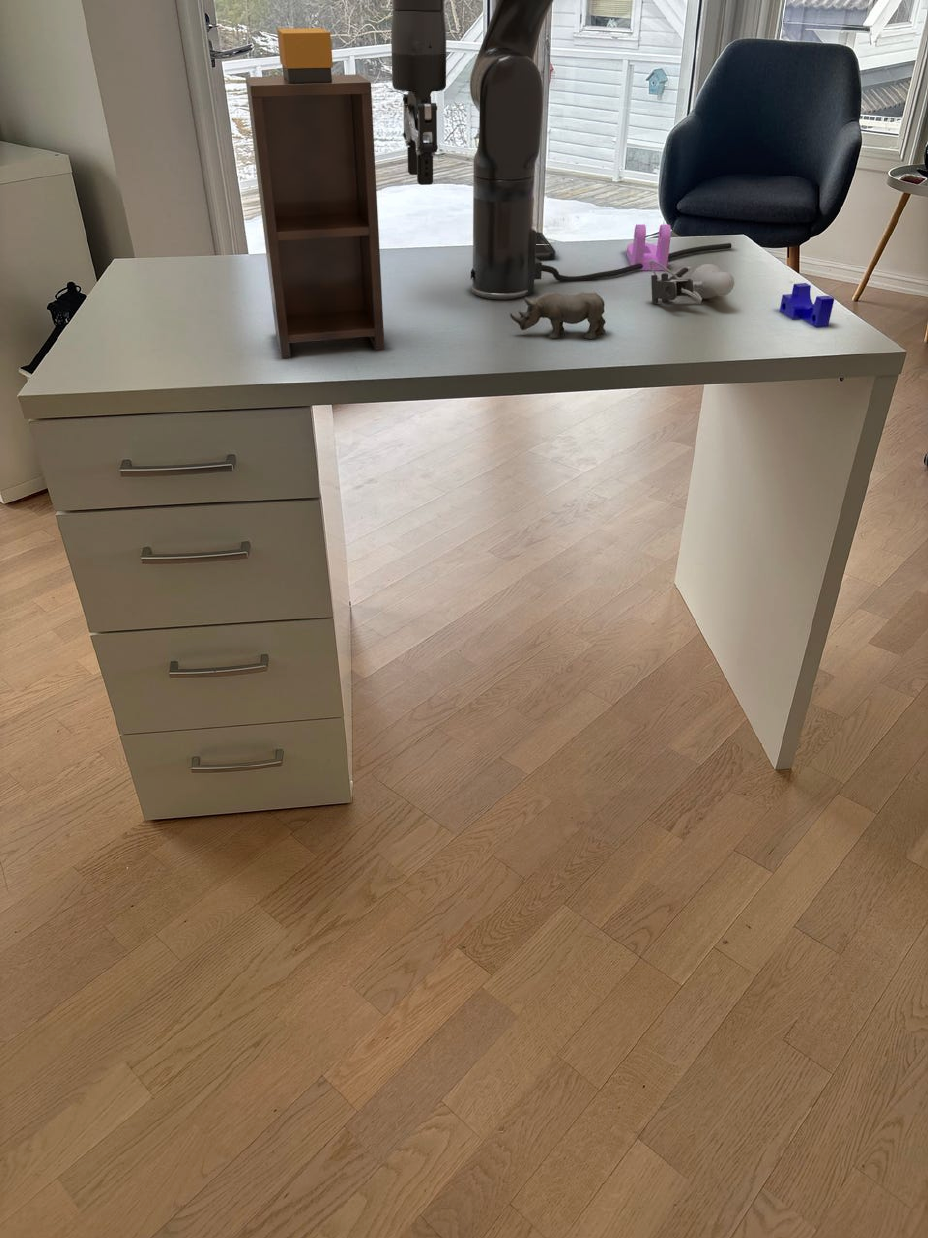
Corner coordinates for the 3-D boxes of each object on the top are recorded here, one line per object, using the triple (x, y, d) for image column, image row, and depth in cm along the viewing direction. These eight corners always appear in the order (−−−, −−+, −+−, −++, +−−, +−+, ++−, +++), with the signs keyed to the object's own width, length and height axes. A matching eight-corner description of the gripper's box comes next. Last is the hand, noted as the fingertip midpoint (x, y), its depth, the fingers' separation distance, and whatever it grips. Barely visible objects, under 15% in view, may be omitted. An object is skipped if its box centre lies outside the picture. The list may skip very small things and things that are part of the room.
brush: (316, 67, 122) (312, 22, 119) (334, 82, 109) (330, 31, 106) (274, 68, 121) (270, 23, 118) (287, 83, 108) (282, 32, 105)
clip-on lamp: (634, 301, 155) (666, 310, 138) (632, 261, 152) (664, 265, 136) (703, 292, 155) (743, 299, 139) (702, 251, 153) (743, 254, 136)
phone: (512, 253, 164) (501, 232, 176) (512, 260, 164) (500, 239, 177) (557, 252, 164) (542, 231, 177) (556, 259, 165) (541, 237, 177)
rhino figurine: (508, 329, 134) (509, 287, 131) (603, 330, 134) (607, 287, 131) (509, 339, 131) (510, 296, 128) (607, 339, 131) (611, 296, 127)
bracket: (666, 270, 160) (671, 227, 156) (633, 270, 160) (638, 227, 156) (655, 250, 170) (659, 209, 166) (624, 250, 170) (628, 209, 166)
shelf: (373, 328, 135) (359, 73, 116) (384, 349, 128) (371, 81, 109) (276, 336, 132) (245, 76, 113) (281, 358, 125) (250, 85, 106)
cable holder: (779, 311, 142) (784, 284, 139) (800, 309, 142) (805, 282, 140) (806, 327, 135) (812, 300, 133) (828, 326, 136) (834, 298, 134)
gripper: (456, 53, 122) (454, 187, 132) (436, 46, 134) (436, 170, 143) (399, 53, 121) (402, 188, 130) (384, 46, 132) (387, 171, 142)
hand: (420, 179), depth 137 cm, fingers open, 8 cm apart
